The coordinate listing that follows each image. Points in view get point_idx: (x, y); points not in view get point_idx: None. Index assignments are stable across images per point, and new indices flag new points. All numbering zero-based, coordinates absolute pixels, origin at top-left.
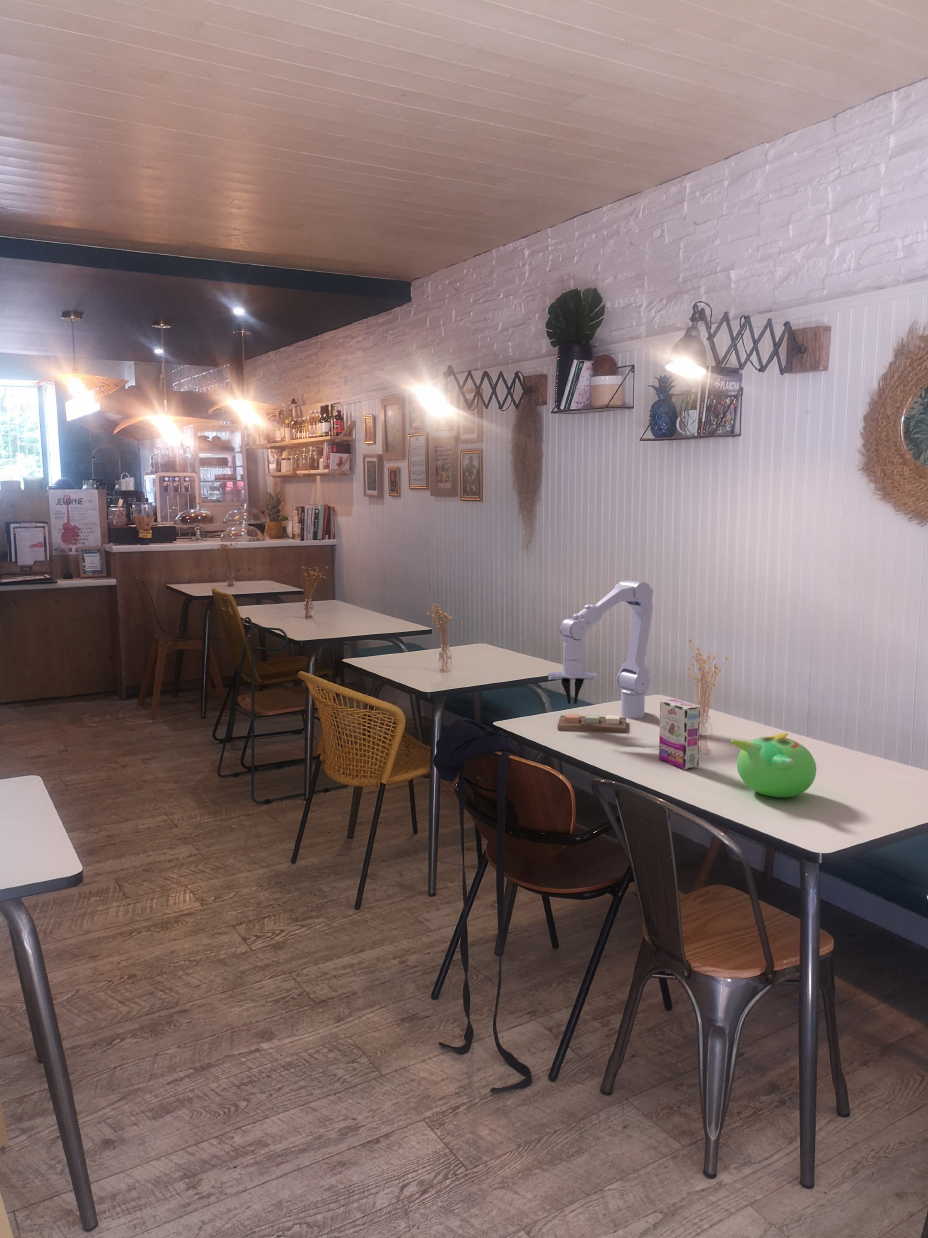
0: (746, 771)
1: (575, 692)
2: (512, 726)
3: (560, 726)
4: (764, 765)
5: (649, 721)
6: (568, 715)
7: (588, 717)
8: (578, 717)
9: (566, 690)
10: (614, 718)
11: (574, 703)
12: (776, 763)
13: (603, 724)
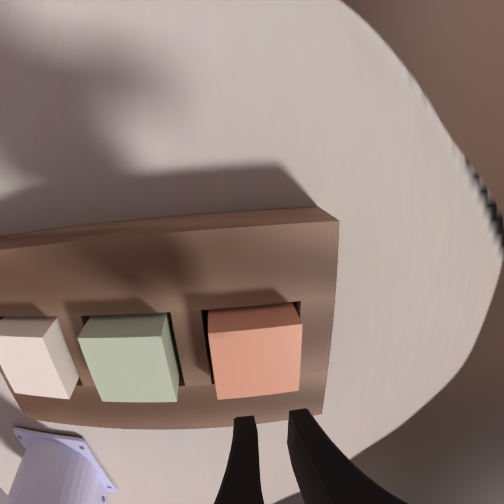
0: None
1: (255, 499)
2: (480, 303)
3: (317, 219)
4: None
5: (18, 442)
6: (283, 365)
7: (143, 347)
8: (209, 336)
9: (365, 493)
10: (6, 343)
11: (252, 418)
12: None
13: (55, 298)
